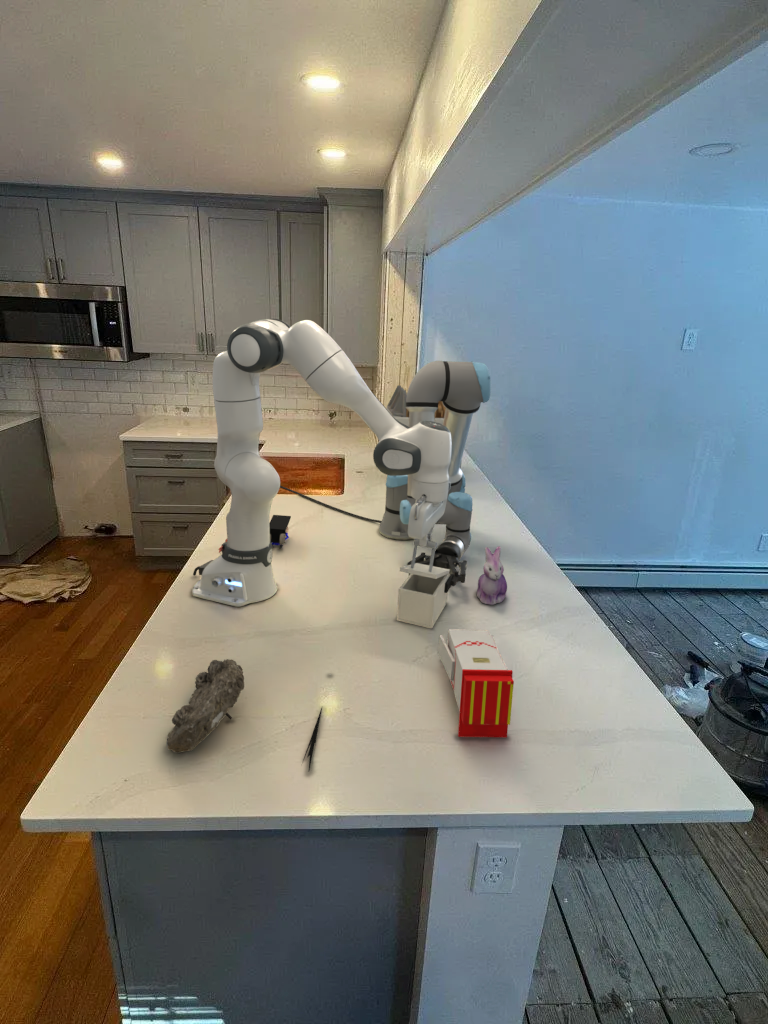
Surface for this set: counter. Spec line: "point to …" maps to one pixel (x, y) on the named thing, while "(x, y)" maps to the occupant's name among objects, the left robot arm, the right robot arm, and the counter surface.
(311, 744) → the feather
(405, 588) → the chest
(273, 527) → the figurine character
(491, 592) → the figurine
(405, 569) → the lid
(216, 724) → the fossil
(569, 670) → the counter surface
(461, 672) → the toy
